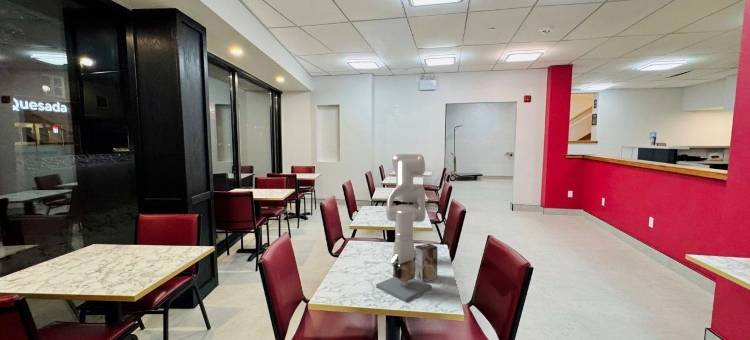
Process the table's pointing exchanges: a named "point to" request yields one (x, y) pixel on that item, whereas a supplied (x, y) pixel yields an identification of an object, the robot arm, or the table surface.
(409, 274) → the brown wooden cube
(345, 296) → the table surface
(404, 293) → the post stand
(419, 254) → the coffee box
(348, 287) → the table surface
